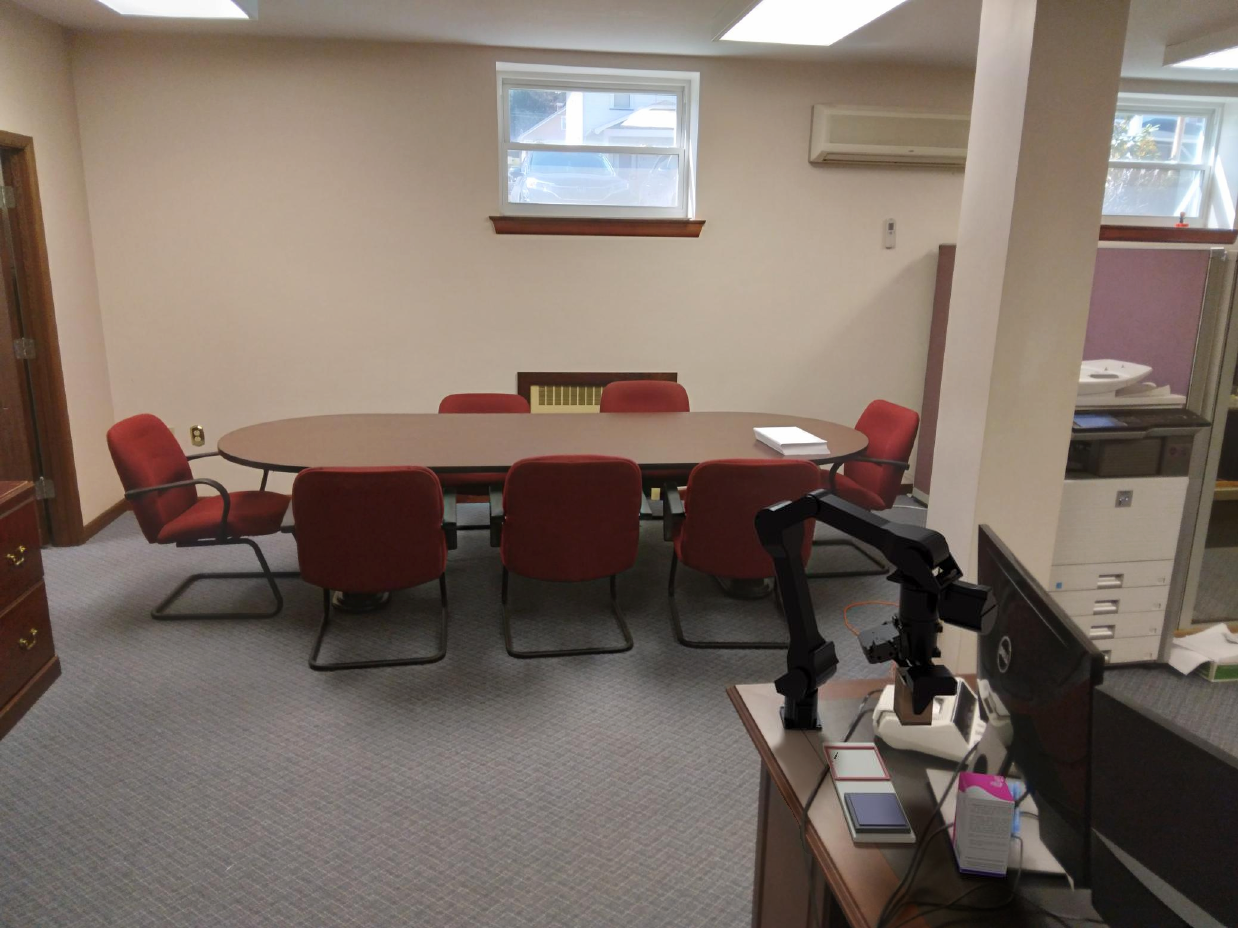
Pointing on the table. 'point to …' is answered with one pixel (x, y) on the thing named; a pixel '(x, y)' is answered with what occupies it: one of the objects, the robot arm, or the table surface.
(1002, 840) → the supplement box
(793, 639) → the robot arm
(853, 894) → the table surface
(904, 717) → the stamp
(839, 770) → the blotter board
